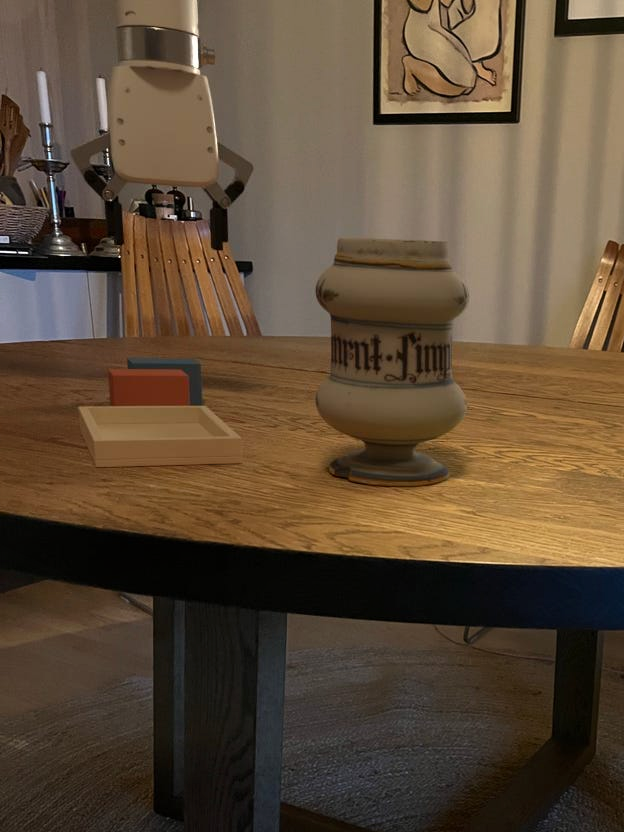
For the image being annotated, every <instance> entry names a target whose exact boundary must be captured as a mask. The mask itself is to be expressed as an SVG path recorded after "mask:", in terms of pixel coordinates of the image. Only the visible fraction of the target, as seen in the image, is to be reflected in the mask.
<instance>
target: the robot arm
mask: <svg viewBox="0 0 624 832" xmlns="http://www.w3.org/2000/svg"><path fill="white" fill-rule="evenodd" d="M113 2H114V3H113V4H114V19H115V29H116V30H115V31H116V32H115V35H116V49H117V50H116V51H117V64H118V65H115V66H112V67H111V68H109V75H108V81H107V82H108V83H107V101H106V102H107V104H106V105H107V106H106V107H107V108H106V113H107V116H106V122H107V132H105V133H103V134H101V135H99V136H97V137H94V138H93V139H90V140H89V141H86V142H84V143H82V144H80V145H78V146H76V147H74V148H72V149H71V150H70V153H69V154H70V158H71V159H72V161H73V162H74V165H75V166H76V168H77V169H78V172H79V173H80V175H81V176H82V178H83V180H84V182H85V183H86V184H87V185H88V186H89V187H90V188H91V189H92V190H93V191H94V192H95V193H96V194H97V195H98V196H99V198H101V200H102V201H103V203H104V217H105V228H106V229H105V230H106V236H107V237H110V238H111V237H113V245H114V246H118V247H122V246H124V245H125V233H124V219H123V218H124V217H123V204H122V203H121V202H120V200H119V195H120V193H121V192H122V190H123V189H124V188H125V186H126V185H127V184H128V183H131V184H140V185H141V184H142V185H154V186H156V185H158V186H168V187H169V186H170V187H184V188H185V187H186V188H201V189H202V191H203V192H204V193H205V194H206V196H207V197H208V198H209V200H210V201H211V202H212V203H211V204H212V206H211V208H210V209H209V231H210V234H209V235H210V248H211V249H212V250H213V251H219V252H220V251H221V252H222V251H224V243H228V242H229V219H228V217H229V216H228V209H229V208H230V207H231V205H232V204H233V203H234V202H235V201H237V199H238V198H239V197H240V196H241V195H242V194H243V193H244V191H245V188H246V186H247V184H248V182H249V180H250V178H251V176H252V174H253V171H254V165H253V163H251V162H250V161H248V160H247V159H245V158H244V157H242V156H241V155H239V154H237V153H236V152H234V151H233V150H231V149H230V148H228V147H226V146H225V145H223V144H222V143H220V142H219V141H218V139H217V138H218V137H217V130H216V129H217V128H216V122H215V121H216V120H215V112H214V106H213V100H212V94H211V89H210V84H209V80H208V77H207V76H206V75H203V74H201V70H202V68H203V67H204V66H208V65H213V66H215V63H216V52H215V49H213V48H207V46H203V45H204V44H203V43H202V42H201V38H200V33H199V32H200V31H199V30H200V29H199V10H198V0H113ZM105 150H107V152H108V163H109V169H110V173H111V174H112V176H111V177H110V179H108V181H107V182H105V180H104V179H102V177H101V176H100V175H99V174H98V173H97V172H96V171H95V169H94V167H93V165H92V163H91V161H90V160H91V158H92V157H93V156H95V155H97V154H99V153H101V152H102V153H103V151H105ZM219 161H221V162H223V163H224V164H226V165H227V166H229V167H231V168H232V169H233V170H234V176H233V179H232V181H231V183H229V184H228V185H227V187H225V189H223V188H222V187H221V185H220V184H219V183H218V179H219V174H220V173H219V172H220V170H219V169H220V165H219V164H220V162H219Z"/></svg>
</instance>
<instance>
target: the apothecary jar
mask: <svg viewBox="0 0 624 832" xmlns="http://www.w3.org/2000/svg"><path fill="white" fill-rule="evenodd" d="M333 258H334V259H333V264H331V266H329V267H328V268H327V269H325V270H324V271H323V272H322V273H321V275H320V276H319V277H318V279H317V281H316V285H315V298H316V300H317V302H318V304H319V305H320V307H321V308H322V309H324V311H326V312H327V313H328V314H329V316H330V373H329V376H328V377H327V378H326V379H325V380H324V381H322V383H320V385H319V387H318V389H317V391H316V394H315V407H316V410H317V412H318V414H319V416H320V418H322V420H323V421H324V422H325V423H326V424H327V425H328V426H329V427H331V428H332V429H334V430H336V431H337V432H339V433H341V434H343V435H346V436H348V437H351V438H354V439H356V440H359V441H361V442H363V444H364V449H361V450H360V449H359V450H356V451H353V452H349V453H348V454H346V455H343V456H339V457H338V458H334V460H332V461H331V463H329V465H328V471H329V474H331V475H332V476H334V477H341V478H346V479H347V480H348V481H349V482H353V483H356V484H363V485H371V486H379V487H380V486H381V487H399V488H400V487H404V488H405V487H422V486H429V485H435V484H439V483H441V482H444V481H445V480H448V478H449V477H450V475H451V474H450V473H451V472H450V469H449V468H448V467H447V466H446V465H445V464H443V463H441V462H439V461H438V460H436V459H434V458H432V457H431V456H430V455H428V454H426V453H423V452H418V451H416V447H417V446H418V445H419V444H420V443H425V442H429V441H433V440H435V439H438V438H440V437H442V436H444V435H446V434H448V433H449V432H451V431H452V430H454V429H455V428H456V427H457V426H458V425H459V424H460V423H461V422H462V421H463V419H464V418H465V417H466V413H467V409H468V402H467V398H466V395H465V393H464V391H463V390H462V388H461V387H460V385H458V384H457V382H456V381H455V380H454V379H453V328H454V327H453V325H454V321H455V319H456V318H458V317H460V316H461V315H462V314H463V313H464V312H465V311H466V309H467V308H468V305H469V302H470V292H469V288H468V286H467V284H466V282H465V281H464V280H463V278H462V277H461V276H460V275H458V273H456V272H455V271H454V270H453V267H452V263H451V260H450V245H449V242H448V241H443V240H421V239H420V240H418V239H394V238H393V239H392V238H373V237H372V238H369V237H339V238H338V239H337V244H336V254H335V255H334V257H333Z"/></svg>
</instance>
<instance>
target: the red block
mask: <svg viewBox="0 0 624 832" xmlns="http://www.w3.org/2000/svg"><path fill="white" fill-rule="evenodd" d="M107 377H108V389H109V403H110V404H109V406H190V400H189V377H188V375H187V374H186V373H184V372H183V371H182V370H174V369H128V368H108V369H107Z"/></svg>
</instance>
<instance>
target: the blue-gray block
mask: <svg viewBox="0 0 624 832" xmlns="http://www.w3.org/2000/svg"><path fill="white" fill-rule="evenodd" d="M126 363H127V369H174V370H182V371H183V372H184V373H186V374H187V375H188V377H189V400H190V406H203V381H202V363H201V362H199V361H198V360H196V359H195V358H187V357H186V358H184V357H182V358H181V357H179V358H178V357H177V358H175V357H127V358H126Z"/></svg>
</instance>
